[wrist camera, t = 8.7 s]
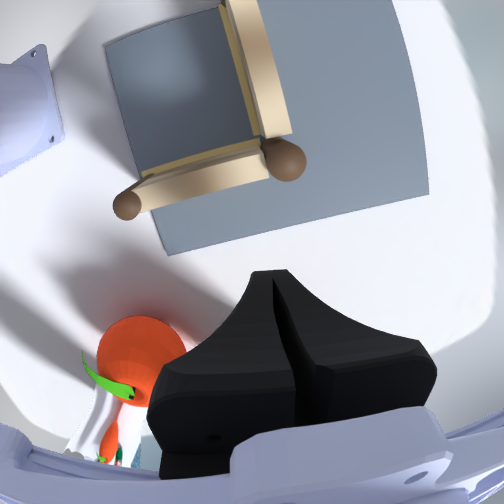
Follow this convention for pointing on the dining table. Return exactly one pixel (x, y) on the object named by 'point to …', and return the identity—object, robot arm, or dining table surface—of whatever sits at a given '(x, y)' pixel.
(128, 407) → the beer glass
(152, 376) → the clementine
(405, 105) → the card
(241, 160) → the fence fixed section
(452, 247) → the dining table surface
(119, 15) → the dining table surface
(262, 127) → the panel
